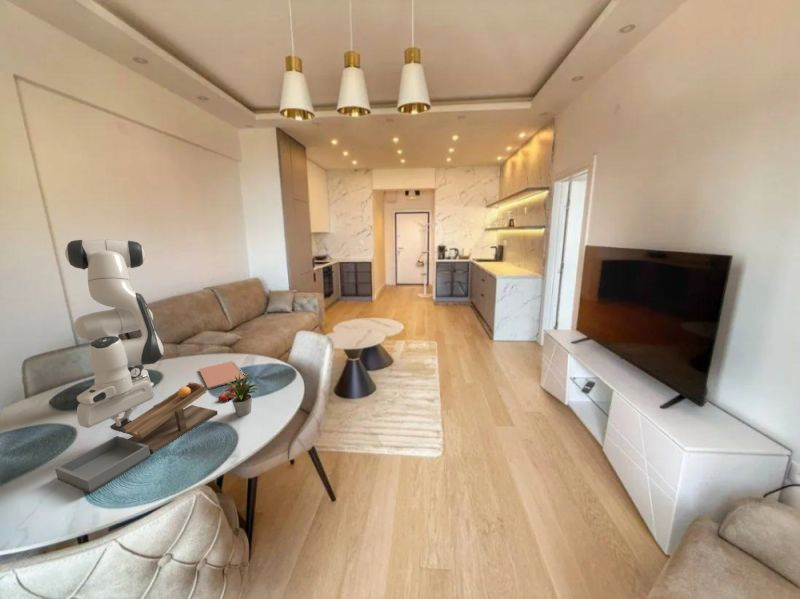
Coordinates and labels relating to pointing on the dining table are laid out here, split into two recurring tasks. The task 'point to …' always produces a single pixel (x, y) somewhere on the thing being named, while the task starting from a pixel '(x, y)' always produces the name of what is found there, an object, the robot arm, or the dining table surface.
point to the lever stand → (175, 427)
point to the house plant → (241, 395)
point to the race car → (223, 399)
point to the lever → (160, 412)
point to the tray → (102, 464)
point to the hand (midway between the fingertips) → (123, 423)
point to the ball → (184, 391)
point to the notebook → (220, 374)
